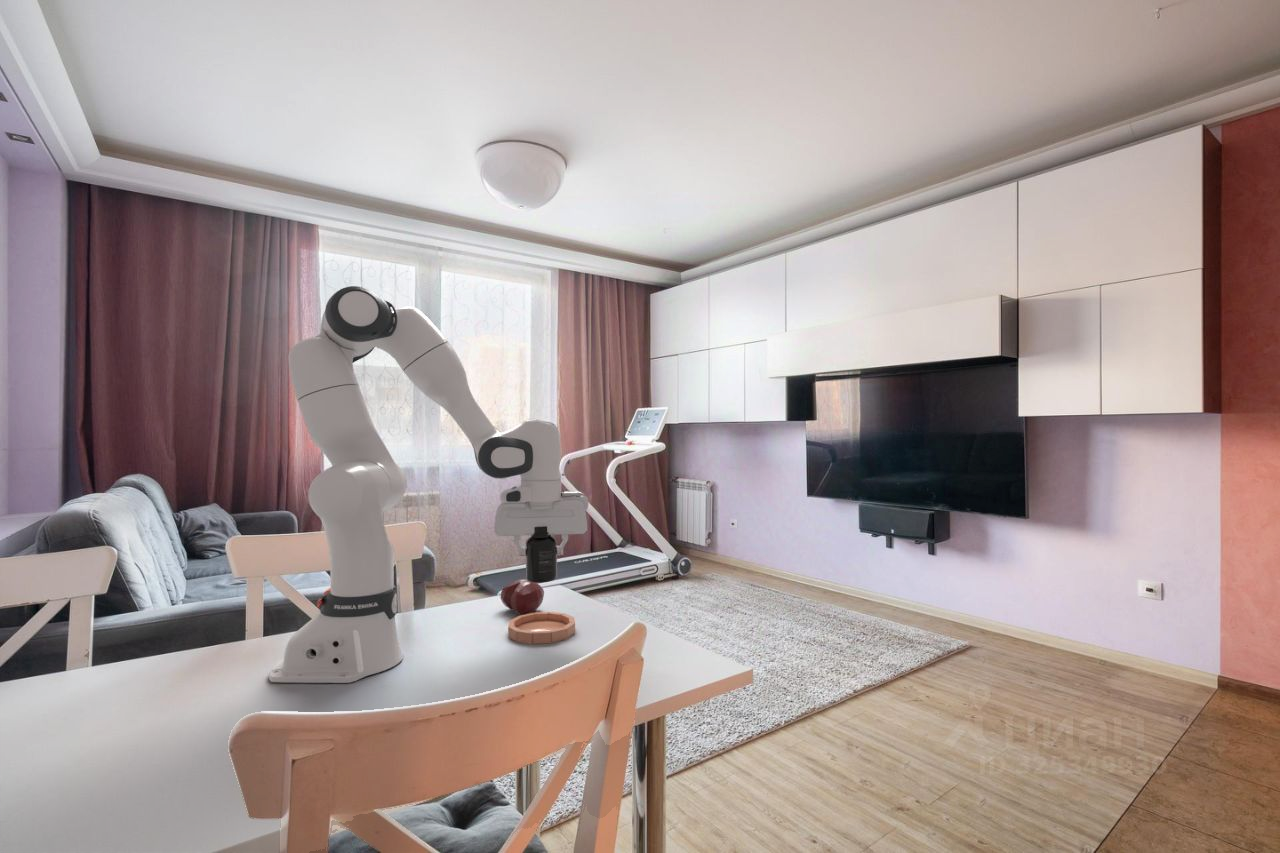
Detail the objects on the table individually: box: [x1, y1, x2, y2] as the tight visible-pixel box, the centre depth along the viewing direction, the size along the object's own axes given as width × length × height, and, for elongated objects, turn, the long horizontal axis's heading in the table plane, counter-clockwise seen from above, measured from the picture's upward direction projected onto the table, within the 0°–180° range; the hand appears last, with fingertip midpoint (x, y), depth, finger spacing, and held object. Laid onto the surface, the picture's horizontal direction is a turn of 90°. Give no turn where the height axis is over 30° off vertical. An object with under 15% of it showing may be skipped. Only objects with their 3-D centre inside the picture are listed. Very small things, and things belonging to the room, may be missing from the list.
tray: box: [507, 611, 576, 645], centre depth 133 cm, size 14×14×2 cm
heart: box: [500, 578, 545, 616], centre depth 149 cm, size 12×8×10 cm
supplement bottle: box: [525, 526, 558, 584], centre depth 133 cm, size 7×7×12 cm
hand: (541, 555), depth 133 cm, fingers closed on supplement bottle, 7 cm apart
